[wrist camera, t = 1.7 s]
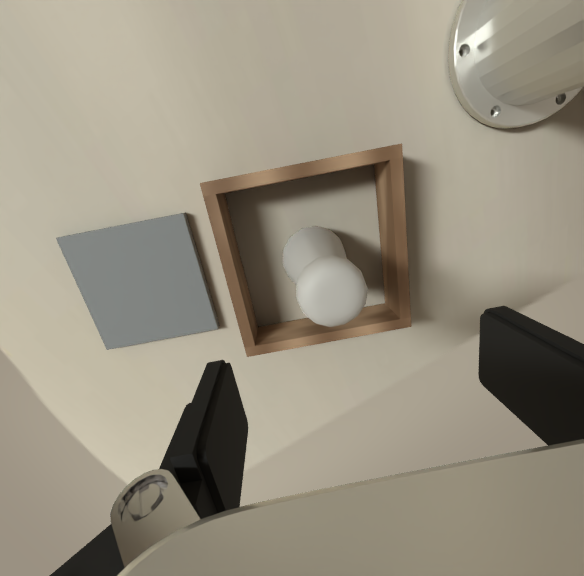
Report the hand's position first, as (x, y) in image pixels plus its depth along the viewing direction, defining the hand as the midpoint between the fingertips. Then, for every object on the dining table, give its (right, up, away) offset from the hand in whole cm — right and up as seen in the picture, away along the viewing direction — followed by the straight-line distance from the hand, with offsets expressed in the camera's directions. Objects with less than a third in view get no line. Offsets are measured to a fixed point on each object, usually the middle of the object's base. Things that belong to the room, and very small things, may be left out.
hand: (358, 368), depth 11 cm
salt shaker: (-1, +7, +18) cm, 20 cm away
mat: (-17, +3, +18) cm, 25 cm away
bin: (-1, +7, +18) cm, 19 cm away
